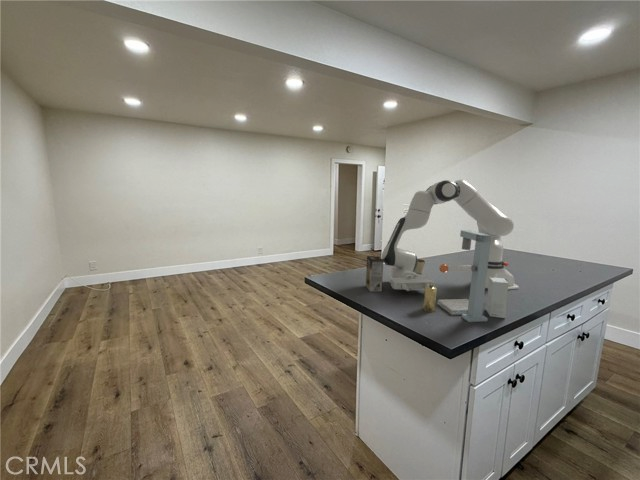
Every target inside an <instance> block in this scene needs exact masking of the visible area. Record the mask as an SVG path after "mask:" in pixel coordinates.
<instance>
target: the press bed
mask: <svg viewBox="0 0 640 480" xmlns="http://www.w3.org/2000/svg"><path fill="white" fill-rule="evenodd" d="M468 304H469V298H457V299H456V298H453V299H450V298H449V299H448V298H447V299H446V298H445V299H437V305H438V306H440V308H442V309H443V310H445V311H446V312H448V313H449V315H452V316H462V314H467V313H468ZM484 314H485V309H484V308H483V309H482V315H484Z"/></svg>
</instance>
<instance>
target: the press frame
mask: <svg viewBox="0 0 640 480" xmlns="http://www.w3.org/2000/svg"><path fill="white" fill-rule="evenodd" d="M459 236H460V238H462V242H461V250H466V251H469V250H471V246H472V241H475V244H474V252H473V262H472V265H473V266H475V267H477V270H476V271H475V272H474V271H471V277H470V278H471V280H470V287H469V288H470V289H469V297H468V300H469V304H468V313H467V314H462V315H461V319H464V320H465V321H466V322H469V323H474V322H478V323H479V322H488V320H489V318H488V317H487V316H485V315H484V314H482V309H484V308H483V307H484V300H485V299H484V298H485V291H486V288H485V284H486V276H487V268H488V259H489V251H490V243H491V235H487V234H482V233H479V231H478V232H477V231H472V230H467V229H466V230H463V229H462V230H460V233H459Z"/></svg>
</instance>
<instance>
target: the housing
mask: <svg viewBox="0 0 640 480" xmlns="http://www.w3.org/2000/svg"><path fill="white" fill-rule="evenodd" d="M437 291H438V290H437V286H435V285H434V286H433V284H431V283H430V286H425V289H424V294H423V295H424V296H423V308H422V309H423V311H425V312H427V313H434V312H435V310H436V299H437Z"/></svg>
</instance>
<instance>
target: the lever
mask: <svg viewBox="0 0 640 480" xmlns="http://www.w3.org/2000/svg"><path fill="white" fill-rule="evenodd" d="M476 270H477V267H475V266H473V264H452V265H451V264H448V265H447V264H445V263H443V264H440V266H439V271H440V272H442V273H448V272H472V271H474V272H475V271H476Z"/></svg>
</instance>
